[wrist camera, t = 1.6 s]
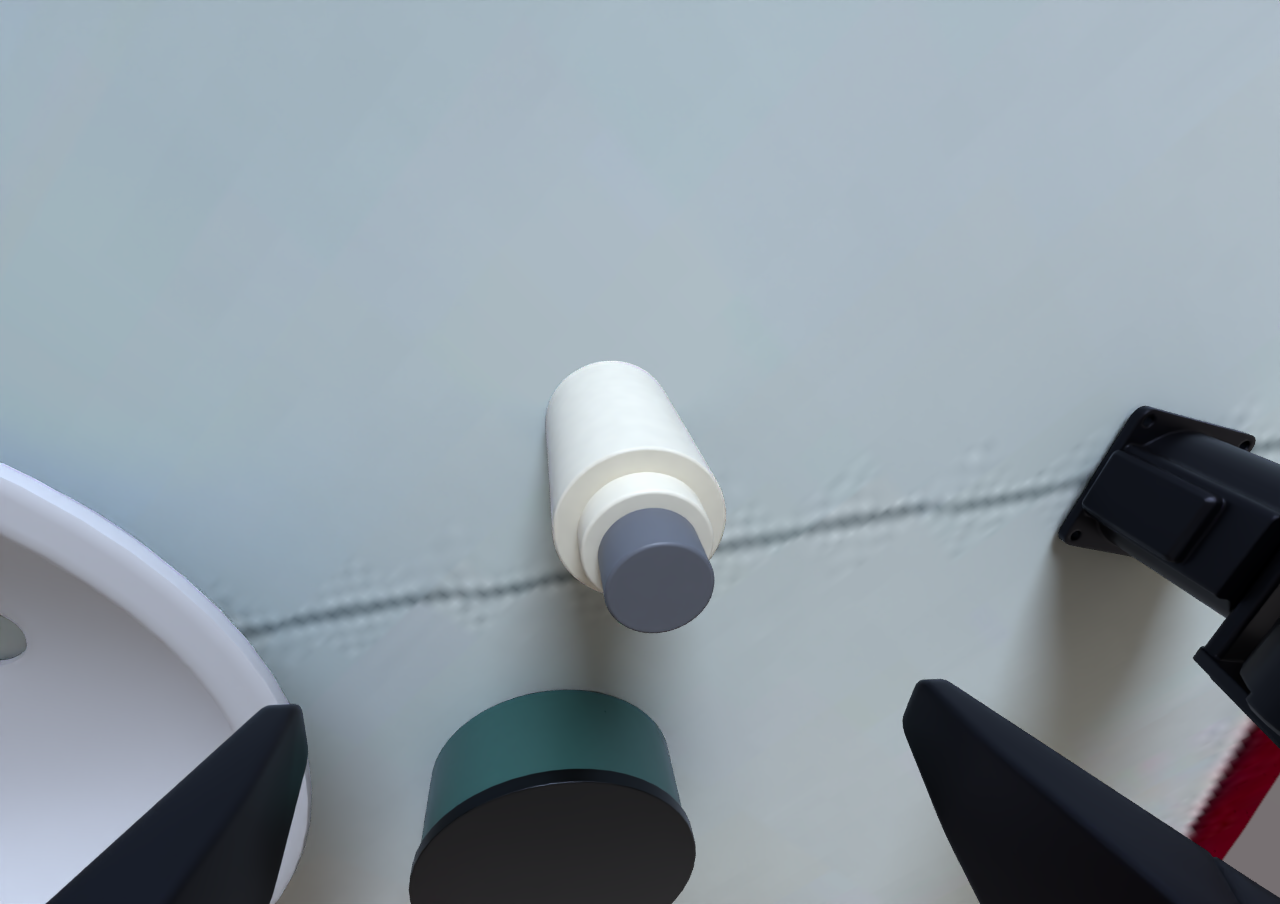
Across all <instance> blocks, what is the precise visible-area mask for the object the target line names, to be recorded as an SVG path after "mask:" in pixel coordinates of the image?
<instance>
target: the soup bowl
mask: <svg viewBox="0 0 1280 904" xmlns="http://www.w3.org/2000/svg"><path fill="white" fill-rule="evenodd" d="M0 615H2V616H4V617H6V618H8V619H9V620H11V621H12V622H14V623H15V624H16V625H17V626H18V627H19V628H20V629H21V630H22V632H23V633H24V635H25V638H26V641H27V647H26V650H25V651H24V652H23V653H22V654H20V655H18V656H16V657H14V658H11V659H7V660H0V904H46V903H47V902H48V901H49V900H50V899H51V898H52V897H53V896H55V895H56V894H57V893H58V892H59V891H60V890H61V889H62V888H63V887H64V886H66V885H67V884H68V883H69V882H70V881H71V880H72V879H73V878H74V877H75V876H77V875H78V874H79V873H80V872H81V871H82V870H83V869H84V868H85V867H87V866H88V865H89V864H90V863H91V862H92V861H93V860H94V859H95V858H96V857H98V856H99V855H100V854H101V853H102V852H103V851H104V850H105V849H106V848H108V847H109V846H110V845H111V844H112V843H113V842H114V841H115V840H116V839H117V838H119V837H120V836H121V835H122V834H123V833H124V832H125V831H126V830H127V829H128V828H130V827H131V826H132V825H133V824H134V823H135V822H136V821H137V820H138V819H140V818H141V817H142V816H143V815H144V814H145V813H146V812H147V811H148V810H149V809H151V808H152V807H153V806H154V805H155V804H156V803H157V802H158V801H159V800H160V799H162V798H163V797H164V796H165V795H166V794H167V793H168V792H169V791H170V790H172V789H173V788H174V787H175V786H176V785H177V784H178V783H179V782H180V781H181V780H183V779H184V778H185V777H186V776H187V775H188V774H189V773H190V772H191V771H193V770H194V769H195V768H196V767H197V766H198V765H199V764H200V763H201V762H202V761H204V760H205V759H206V758H207V757H208V756H209V755H210V754H211V753H212V752H213V751H215V750H216V749H217V748H218V747H219V746H220V745H221V744H222V743H223V742H225V741H226V740H227V739H228V738H229V737H230V736H231V735H232V734H233V733H234V732H236V731H237V730H238V729H239V728H240V727H241V726H242V725H243V724H244V723H246V722H247V721H248V720H249V719H250V718H251V717H252V716H253V715H254V714H255V713H257V712H258V711H259V710H260V709H261V708H263V707H265V706H268V705H280V704H289V702H288V700H287V698H286V697H285V695H284V693H283V691H282V690H281V688H280V686H279V684H278V683H277V681H276V679H275V677H274V676H273V674H272V672H271V671H270V670H269V668H268V667H267V666H266V664H265V663H264V661H263V660H262V659H261V657H260V656H259V655H258V653H257V652H256V651H255V649H254V648H253V647H252V645H251V644H250V642H249V641H248V640H247V639H246V638H245V637H244V636H243V634H242V633H241V632H240V631H239V630H238V629H237V628H236V627H235V626H234V625H233V623H232V622H231V621H230V620H229V619H228V618H227V617H226V616H225V615H224V614H223V612H222V611H221V610H220V609H219V608H218V607H217V606H216V605H215V604H213V603H212V602H211V601H210V600H209V599H208V598H207V597H206V596H205V595H204V594H203V593H201V592H200V591H199V590H198V589H197V588H196V587H195V586H194V585H193V584H192V583H191V582H189V581H188V580H187V579H186V578H185V577H184V576H183V575H182V574H180V573H179V572H178V571H176V570H175V569H174V568H173V567H171V566H170V565H169V564H167V563H166V562H165V561H163V560H162V559H161V558H160V557H159V556H158V555H157V554H155V553H154V552H153V551H151V550H150V549H149V548H148V547H146V546H145V545H144V544H142V543H141V542H140V541H139V540H137V539H136V538H135V537H133V536H132V535H131V534H129V533H128V532H126V531H125V530H123V529H122V528H120V527H119V526H117V525H116V524H114V523H113V522H111V521H110V520H108V519H107V518H105V517H104V516H102V515H100V514H99V513H97V512H95V511H93V510H92V509H90V508H88V507H86V506H84V505H83V504H81V503H79V502H77V501H76V500H74V499H72V498H70V497H69V496H67V495H65V494H63V493H60V492H58V491H56V490H54V489H53V488H51V487H49V486H47V485H45V484H44V483H42V482H40V481H38V480H37V479H35V478H33V477H31V476H29V475H26V474H24V473H22V472H20V471H18V470H16V469H14V468H12V467H10V466H8V465H6V464H3V463H1V462H0ZM311 802H312V784H311V775H310V765H309V759H308V758H307V765H306V769H305V773H304V777H303V781H302V785H301V789H300V793H299V797H298V800H297V804H296V808H295V812H294V816H293V820H292V824H291V828H290V832H289V836H288V840H287V844H286V847H285V851H284V855H283V859H282V863H281V867H280V871H279V875H278V878H277V882H276V886H275V889H274V893H273V896H272V899H271V902H270V904H275V903H276V902H277V901H278V899H279V898H280V897H281V895H282V893H283V892H284V890H285V888H286V887H287V885H288V883H289V881H290V879H291V878H292V876H293V874H294V872H295V871H296V868H297V866H298V863H299V861H300V858H301V855H302V853H303V850H304V848H305V844H306V840H307V835H308V830H309V826H310V821H311Z"/></svg>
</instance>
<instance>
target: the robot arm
mask: <svg viewBox="0 0 1280 904" xmlns="http://www.w3.org/2000/svg"><path fill="white" fill-rule="evenodd" d="M1255 441H1256V440H1255V437H1254V436H1252V435H1249V434H1247V433H1244V432H1241V431H1238V430H1234V429H1230V428H1226V427H1223V426H1219V425H1215V424H1212V423H1208V422H1204V421H1200V420H1197V419H1193V418H1189V417H1186V416H1182V415H1178V414H1174V413H1171V412H1167V411H1163V410H1160V409H1156V408H1152V407H1149V406H1143V407H1140V408H1138V409H1137V410H1135V411H1134V412H1133V414H1132V415H1131V416H1130V418H1129V420H1128V421H1127V423H1126V424H1125V426H1124V428H1123V429H1122V431H1121V432H1120V434H1119V436H1118V437H1117V439H1116V440H1115V442H1114V443H1113V445H1112V447H1111V448H1110V450H1109V451H1108V453H1107V455H1106V456H1105V458H1104V459H1103V461H1102V463H1101V464H1100V466H1099V467H1098V469H1097V471H1096V472H1095V474H1094V475H1093V477H1092V479H1091V480H1090V482H1089V483H1088V485H1087V487H1086V488H1085V490H1084V491H1083V493H1082V495H1081V496H1080V498H1079V499H1078V501H1077V503H1076V504H1075V506H1074V507H1073V509H1072V511H1071V512H1070V514H1069V515H1068V517H1067V519H1066V520H1065V522H1064V523H1063V525H1062V526H1061V528H1060V530H1059V532H1058V537H1059V538H1060V539H1061V540H1062V541H1064V542H1065V543H1066V544H1068V545H1072V546H1077V547H1083V548H1088V549H1094V550H1099V551H1105V552H1110V553H1116V554H1121V555H1127V556H1132V557H1134V558H1136V559H1137V560H1139V561H1140V562H1142V563H1143V564H1145V565H1146V566H1148V567H1149V568H1151V569H1152V570H1154V571H1155V572H1157V573H1158V574H1160V575H1161V576H1163V577H1164V578H1166V579H1168V580H1169V581H1171V582H1172V583H1174V584H1175V585H1177V586H1178V587H1180V588H1181V589H1183V590H1184V591H1186V592H1187V593H1189V594H1190V595H1192V596H1193V597H1195V598H1196V599H1198V600H1199V601H1201V602H1202V603H1204V604H1205V605H1207V606H1209V607H1210V608H1212V609H1213V610H1215V611H1216V612H1218V613H1219V614H1221V615H1222V616H1224V617H1225V618H1226V619H1225V620H1224V622H1223V623H1222V624H1221V626H1220V627H1219V628H1218V630H1217V631H1216V632H1215V634H1214V635H1213V636H1212V638H1211V639H1210V640H1209V642H1208V643H1207V644H1206V646H1202V647H1200V649H1199V650H1198V651H1197V653H1196V654H1195V655H1194V657H1193V659H1194V660H1195V661H1196V662H1197V663H1198V664H1199V666H1200V667H1201V668H1202V669H1203V670H1204V671H1205V672H1206V673H1207V674H1208V675H1209V676H1210V678H1211V679H1212V680H1213V681H1214V682H1215V683H1216V684H1217V685H1218V686H1219V687H1220V688H1221V689H1222V690H1223V691H1224V692H1225V693H1226V694H1227V695H1228V696H1229V697H1230V698H1231V699H1232V700H1233V702H1234V703H1235V704H1236V705H1237V706H1238V707H1239V708H1240V709H1241V710H1242V711H1243V712H1244V713H1245V714H1246V715H1247V716H1248V717H1249V718H1250V719H1251V720H1252V721H1253V722H1254V723H1255V724H1256V725H1257V726H1258V727H1259V728H1260V729H1261V730H1262V731H1263V732H1264V733H1265V734H1266V735H1267V736H1268V737H1269V738H1270V739H1271V740H1272V741H1273V742H1274V743H1275V744H1276V745H1277V746H1278V747H1279V748H1280V464H1278V463H1275V462H1273V461H1270V460H1268V459H1265V458H1263V457H1260V456H1258V455H1256V454H1253V453H1251V452H1250V451H1251V450H1252V448H1253V447H1254V445H1255ZM903 729H904V733H905V736H906V738H907V741H908V743H909V746H910V748H911V751H912V753H913V756H914V758H915V761H916V763H917V766H918V768H919V771H920V773H921V776H922V778H923V781H924V783H925V786H926V788H927V791H928V793H929V796H930V798H931V801H932V803H933V806H934V808H935V811H936V813H937V816H938V818H939V821H940V823H941V825H942V828H943V830H944V832H945V834H946V836H947V838H948V841H949V843H950V845H951V847H952V849H953V851H954V853H955V855H956V857H957V859H958V861H959V863H960V865H961V867H962V869H963V871H964V873H965V875H966V877H967V879H968V881H969V883H970V885H971V887H972V889H973V891H974V893H975V895H976V897H977V899H978V901H979V903H980V904H1280V898H1279V897H1277V896H1276V895H1274V894H1273V893H1271V892H1270V891H1268V890H1266V889H1265V888H1263V887H1262V886H1260V885H1258V884H1257V883H1256V882H1254V881H1252V880H1251V879H1249V878H1248V877H1246V876H1245V875H1243V874H1242V873H1240V872H1239V871H1237V870H1236V869H1234V868H1233V867H1231V866H1230V865H1228V864H1227V863H1225V862H1224V861H1222V860H1221V859H1219V858H1217V857H1212V855H1211V854H1210V853H1209V852H1208V851H1207V850H1205V849H1204V848H1202V847H1200V846H1199V845H1197V844H1196V843H1194V842H1193V841H1191V840H1190V839H1188V838H1187V837H1185V836H1184V835H1182V834H1181V833H1179V832H1178V831H1176V830H1175V829H1173V828H1172V827H1170V826H1168V825H1167V824H1165V823H1164V822H1162V821H1161V820H1159V819H1158V818H1156V817H1155V816H1153V815H1152V814H1150V813H1149V812H1147V811H1146V810H1144V809H1143V808H1141V807H1139V806H1138V805H1136V804H1135V803H1133V802H1132V801H1130V800H1129V799H1127V798H1126V797H1124V796H1123V795H1121V794H1120V793H1118V792H1117V791H1115V790H1114V789H1112V788H1111V787H1109V786H1107V785H1106V784H1104V783H1103V782H1101V781H1100V780H1098V779H1097V778H1095V777H1094V776H1092V775H1091V774H1089V773H1088V772H1086V771H1085V770H1083V769H1082V768H1080V767H1078V766H1077V765H1075V764H1074V763H1072V762H1071V761H1069V760H1068V759H1066V758H1065V757H1063V756H1062V755H1060V754H1059V753H1057V752H1056V751H1054V750H1053V749H1051V748H1050V747H1048V746H1046V745H1045V744H1043V743H1042V742H1040V741H1039V740H1037V739H1036V738H1034V737H1033V736H1031V735H1030V734H1028V733H1027V732H1025V731H1024V730H1022V729H1021V728H1019V727H1017V726H1016V725H1014V724H1013V723H1011V722H1010V721H1008V720H1007V719H1005V718H1004V717H1002V716H1001V715H999V714H998V713H996V712H995V711H993V710H992V709H990V708H989V707H987V706H985V705H984V704H982V703H981V702H979V701H978V700H976V699H975V698H973V697H972V696H970V695H969V694H967V693H966V692H964V691H963V690H961V689H960V688H958V687H956V686H955V685H953V684H952V683H950V682H949V681H947V680H943V679H928V680H920V681H919V682H918V683H917V684H916V685H915V688H914V690H913V693H912V695H911V698H910V700H909V703H908V705H907V708H906V710H905V713H904V716H903ZM307 758H308V745H307V738H306V732H305V725H304V719H303V713H302V710H301V708H300V706H299V705H296V704H280V705H268V706H265V707H263V708H261V709H260V710H259V711H258V712H257V713H255V714H254V715H253V716H252V717H251V718H250V719H249V720H248V721H247V722H246V723H244V724H243V725H242V726H241V727H240V728H239V729H238V730H237V731H236V732H234V733H233V734H232V735H231V736H230V737H229V738H228V739H227V740H226V741H225V742H223V743H222V744H221V745H220V746H219V747H218V748H217V749H216V750H215V751H213V752H212V753H211V754H210V755H209V756H208V757H207V758H206V759H205V760H204V761H202V762H201V763H200V764H199V765H198V766H197V767H196V768H195V769H194V770H193V771H191V772H190V773H189V774H188V775H187V776H186V777H185V778H184V779H183V780H181V781H180V782H179V783H178V784H177V785H176V786H175V787H174V788H173V789H172V790H170V791H169V792H168V793H167V794H166V795H165V796H164V797H163V798H162V799H160V800H159V801H158V802H157V803H156V804H155V805H154V806H153V807H152V808H151V809H149V810H148V811H147V812H146V813H145V814H144V815H143V816H142V817H141V818H140V819H138V820H137V821H136V822H135V823H134V824H133V825H132V826H131V827H130V828H128V829H127V830H126V831H125V832H124V833H123V834H122V835H121V836H120V837H119V838H117V839H116V840H115V841H114V842H113V843H112V844H111V845H110V846H109V847H108V848H106V849H105V850H104V851H103V852H102V853H101V854H100V855H99V856H98V857H96V858H95V859H94V860H93V861H92V862H91V863H90V864H89V865H88V866H87V867H85V868H84V869H83V870H82V871H81V872H80V873H79V874H78V875H77V876H75V877H74V878H73V879H72V880H71V881H70V882H69V883H68V884H67V885H66V886H64V887H63V888H62V889H61V890H60V891H59V892H58V893H57V894H56V895H55V896H53V897H52V898H51V899H50V900H49V901H48V902H47V903H46V904H270V902H271V899H272V896H273V893H274V889H275V886H276V882H277V878H278V875H279V871H280V867H281V863H282V859H283V855H284V851H285V847H286V844H287V840H288V836H289V832H290V828H291V824H292V820H293V816H294V812H295V808H296V804H297V800H298V797H299V793H300V789H301V785H302V781H303V777H304V773H305V769H306V765H307Z"/></svg>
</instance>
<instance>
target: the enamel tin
mask: <svg viewBox="0 0 1280 904" xmlns="http://www.w3.org/2000/svg"><path fill="white" fill-rule="evenodd" d="M695 856H696V850H695V841H694V837H693V832H692V828H691V824H690V821H689V819H688V817H687V815H686V813H685V811H684V810H683V809H682V807H681V803H680V798H679V794H678V790H677V785H676V781H675V777H674V773H673V768H672V764H671V760H670V756H669V751H668V747H667V743H666V740H665V738H664V736H663V734H662V732H661V730H660V729H659V728H658V726H657V725H656V723H655V722H654V721H653V720H652V719H651V718H650V717H649V716H648V715H647V714H645V713H644V712H643V711H641V710H640V709H638V708H637V707H635V706H633V705H631V704H630V703H628V702H626V701H623V700H621V699H618V698H615V697H613V696H609V695H605V694H601V693H597V692H590V691H582V690H555V691H545V692H539V693H532V694H528V695H524V696H521V697H517V698H513V699H511V700H508V701H505V702H503V703H500V704H498V705H496V706H494V707H491V708H489V709H487V710H485V711H484V712H482V713H480V714H479V715H477V716H476V717H474V718H472V719H471V720H470V721H468V722H467V723H466V724H465V725H463V726H462V727H461V728H460V729H459V730H458V731H457V732H456V733H455V734H454V735H453V736H452V737H451V738H450V739H449V740H448V742H447V743H446V744H445V746H444V747H443V748H442V750H441V752H440V754H439V756H438V758H437V760H436V762H435V765H434V768H433V772H432V777H431V783H430V790H429V796H428V802H427V809H426V815H425V821H424V828H423V834H422V840H421V844H420V846H419V848H418V850H417V852H416V854H415V857H414V861H413V864H412V869H411V875H410V883H409V895H410V902H411V904H672V903H673V902H674V901H675V899H676V898H677V897H678V895H679V894H680V893H681V892H682V890H683V889H684V887H685V885H686V884H687V882H688V880H689V878H690V875H691V873H692V870H693V867H694V862H695Z"/></svg>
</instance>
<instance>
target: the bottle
mask: <svg viewBox="0 0 1280 904" xmlns="http://www.w3.org/2000/svg"><path fill="white" fill-rule="evenodd" d="M546 440H547V456H548V472H549V489H550V505H551V521H552V535H553V542H554V546H555V549H556V552H557V554H558V556H559V558H560V560H561V562H562V563H563V565H564V566H565V568H566V569H567V570H568V571H569V572H570V573H571V574H572V576H574V577H575V578H576V579H577V580H578V581H580V582H581V583H582V584H584V585H586V586H587V587H589V588H591V589H593V590H596V591H598V592H601V593H604V599H605V603H606V606H607V608H608V610H609V612H610V613H611V615H612V616H613V617H614V618H615V619H616V620H617V621H618V622H619V623H621V624H622V625H624V626H625V627H627V628H629V629H632V630H635V631H638V632H644V633H661V632H667V631H671V630H674V629H677V628H679V627H681V626H683V625H685V624H687V623H689V622H690V621H692V620H693V619H694V618H696V617H697V616H698V615H699V614H700V613H701V612H702V611H703V609H704V608H705V607H706V605H707V604H708V602H709V600H710V598H711V595H712V592H713V588H714V572H713V569H712V566H711V564H710V561H709V560H710V559H711V558H712V556H713V554H714V553H715V551H716V550H717V548H718V546H719V543H720V541H721V539H722V536H723V532H724V528H725V522H726V506H725V500H724V496H723V493H722V490H721V488H720V486H719V484H718V482H717V480H716V478H715V477H714V475H713V473H712V472H711V470H710V468H709V466H708V465H707V463H706V461H705V460H704V458H703V456H702V454H701V453H700V451H699V449H698V448H697V446H696V444H695V442H694V441H693V439H692V437H691V436H690V434H689V432H688V430H687V429H686V427H685V425H684V424H683V422H682V420H681V418H680V417H679V415H678V413H677V412H676V410H675V408H674V406H673V405H672V403H671V401H670V400H669V398H668V396H667V394H666V393H665V391H664V389H663V388H662V386H661V385H660V383H659V382H658V381H657V380H656V379H655V378H654V377H653V376H652V375H651V374H649V373H648V372H647V371H645V370H643V369H642V368H640V367H637V366H635V365H633V364H629V363H626V362H620V361H602V362H596V363H592V364H589V365H586V366H584V367H582V368H580V369H578V370H576V371H575V372H573V373H572V374H570V375H569V376H568V377H567V378H565V379H564V380H563V381H562V382H561V384H560V385H559V386H558V387H557V388H556V390H555V392H554V393H553V395H552V397H551V399H550V401H549V404H548V408H547V412H546Z"/></svg>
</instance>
